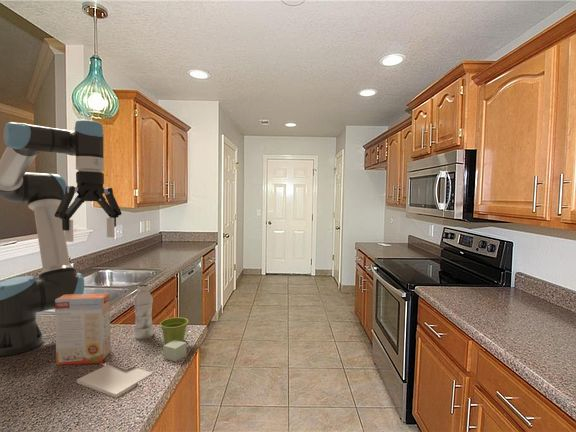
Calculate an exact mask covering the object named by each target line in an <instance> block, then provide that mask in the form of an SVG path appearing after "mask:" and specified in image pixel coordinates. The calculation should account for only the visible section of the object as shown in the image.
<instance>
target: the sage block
mask: <svg viewBox="0 0 576 432" xmlns="http://www.w3.org/2000/svg"><path fill="white" fill-rule="evenodd" d="M162 349H163V350H162V351H163V359H164V360H168V361H171V362H177V361H180V359H182V358H184V357H186V356H187V342H186V341H184V342H182V341H178V340H173V341H171V342H169V343H168V344H166V345H165V344H164V345H163V347H162Z"/></svg>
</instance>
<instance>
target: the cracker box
mask: <svg viewBox="0 0 576 432" xmlns="http://www.w3.org/2000/svg"><path fill="white" fill-rule="evenodd" d="M110 295H111V294H110V293H83V294H66V295H63V296H61V297H59V298H57V299H55V309H54V316H55V318H54V319H55V353H56V354H55V361H56V362H55V363H56V365H57V366H63V365H65V366H66V365H85V364H103V363H105V357H107V355H109V354H110V353H111V352H112V350H111V349H112V348H111V346H112V345H111V313H110V312H111V307H110V306H111V305H110V299H111V297H110Z"/></svg>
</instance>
